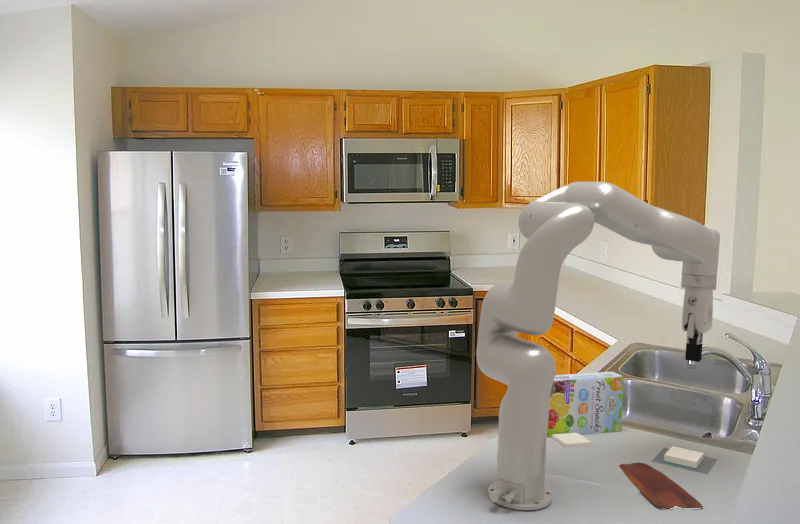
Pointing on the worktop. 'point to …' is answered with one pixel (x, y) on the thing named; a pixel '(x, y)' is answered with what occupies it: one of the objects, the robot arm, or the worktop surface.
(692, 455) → the tile
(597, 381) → the snack box
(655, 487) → the wooden tablet
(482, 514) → the worktop surface
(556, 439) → the tile
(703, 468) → the mat
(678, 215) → the robot arm
